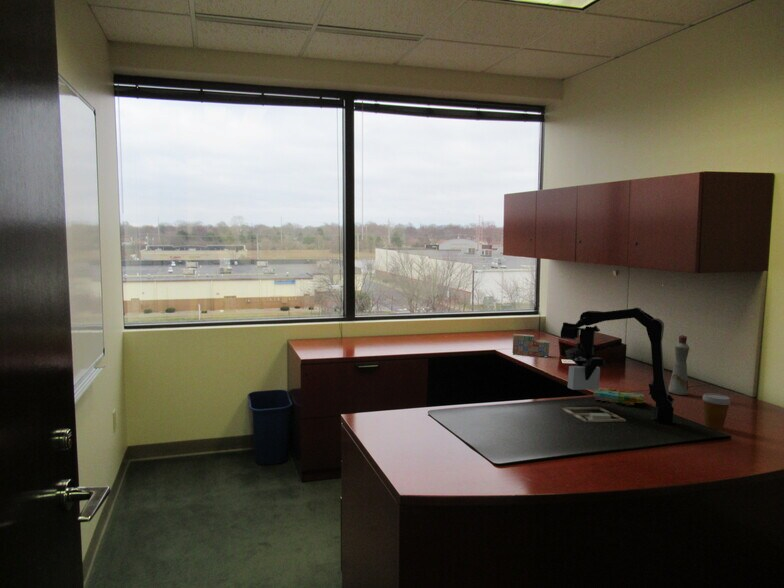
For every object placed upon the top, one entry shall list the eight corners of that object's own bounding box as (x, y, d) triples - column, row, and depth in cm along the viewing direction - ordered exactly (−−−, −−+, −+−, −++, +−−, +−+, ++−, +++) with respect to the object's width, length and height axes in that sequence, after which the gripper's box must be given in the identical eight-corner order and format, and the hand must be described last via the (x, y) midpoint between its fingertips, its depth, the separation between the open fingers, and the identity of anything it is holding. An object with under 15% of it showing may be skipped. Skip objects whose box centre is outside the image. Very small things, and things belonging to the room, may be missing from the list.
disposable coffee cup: (713, 431, 217) (716, 399, 216) (693, 423, 226) (696, 393, 225) (733, 430, 219) (737, 399, 218) (713, 422, 228) (716, 392, 227)
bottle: (662, 391, 277) (668, 333, 275) (677, 390, 280) (682, 333, 278) (677, 396, 269) (683, 336, 267) (692, 395, 272) (698, 336, 270)
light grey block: (598, 389, 241) (600, 367, 240) (572, 389, 238) (574, 368, 238) (593, 386, 245) (594, 365, 244) (567, 387, 242) (569, 365, 241)
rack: (625, 424, 220) (626, 419, 219) (585, 425, 215) (585, 420, 215) (599, 411, 236) (599, 406, 236) (561, 412, 232) (561, 407, 232)
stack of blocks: (547, 356, 357) (549, 336, 356) (548, 357, 351) (550, 337, 350) (512, 353, 361) (513, 333, 360) (512, 354, 355) (513, 334, 354)
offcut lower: (613, 425, 221) (614, 419, 220) (588, 424, 219) (588, 419, 219) (608, 421, 225) (609, 416, 224) (583, 421, 223) (584, 416, 223)
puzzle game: (596, 385, 263) (644, 392, 255) (595, 395, 264) (643, 402, 256) (593, 390, 253) (643, 398, 245) (592, 401, 253) (642, 408, 245)
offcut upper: (610, 420, 220) (611, 416, 220) (592, 419, 220) (592, 415, 220) (607, 417, 223) (607, 413, 223) (589, 416, 223) (589, 412, 223)
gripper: (557, 337, 247) (554, 373, 248) (581, 345, 229) (578, 384, 230) (580, 337, 250) (578, 373, 251) (606, 345, 232) (603, 384, 233)
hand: (583, 378), depth 241 cm, fingers closed on light grey block, 4 cm apart
